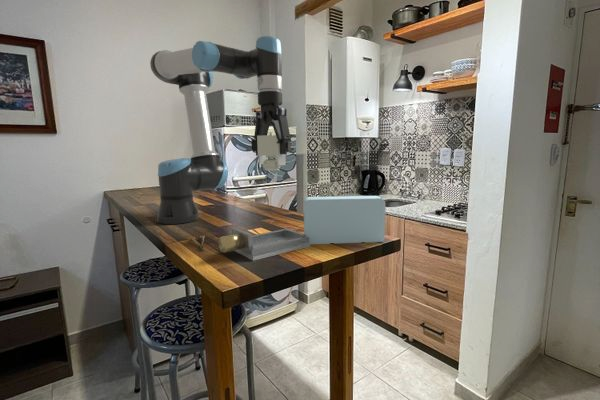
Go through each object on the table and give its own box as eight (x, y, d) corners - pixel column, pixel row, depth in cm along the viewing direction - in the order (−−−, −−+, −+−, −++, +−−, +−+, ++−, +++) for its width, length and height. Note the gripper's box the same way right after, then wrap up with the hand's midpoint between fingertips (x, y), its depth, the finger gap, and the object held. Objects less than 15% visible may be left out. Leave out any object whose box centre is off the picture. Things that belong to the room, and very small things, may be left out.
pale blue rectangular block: (379, 237, 98) (380, 195, 96) (384, 243, 93) (385, 198, 91) (304, 239, 98) (303, 196, 96) (304, 244, 92) (304, 199, 90)
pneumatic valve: (288, 170, 101) (287, 131, 99) (252, 170, 103) (250, 132, 102) (291, 169, 107) (291, 132, 105) (257, 169, 109) (256, 132, 107)
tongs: (198, 253, 87) (198, 246, 86) (189, 241, 98) (189, 235, 98) (214, 251, 89) (214, 244, 88) (204, 239, 100) (203, 233, 100)
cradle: (234, 265, 76) (233, 240, 75) (212, 251, 87) (210, 229, 86) (310, 246, 90) (310, 225, 89) (283, 236, 100) (282, 217, 100)
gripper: (241, 95, 107) (244, 164, 111) (280, 85, 90) (282, 166, 93) (261, 97, 112) (263, 163, 115) (302, 87, 94) (303, 165, 98)
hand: (271, 164), depth 104 cm, fingers closed on pneumatic valve, 10 cm apart
